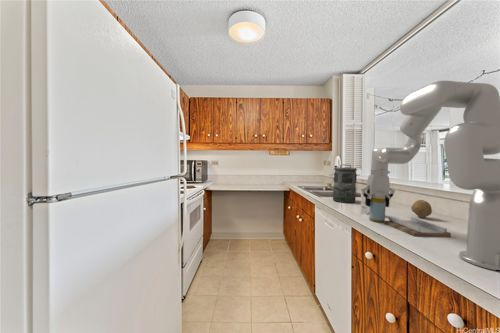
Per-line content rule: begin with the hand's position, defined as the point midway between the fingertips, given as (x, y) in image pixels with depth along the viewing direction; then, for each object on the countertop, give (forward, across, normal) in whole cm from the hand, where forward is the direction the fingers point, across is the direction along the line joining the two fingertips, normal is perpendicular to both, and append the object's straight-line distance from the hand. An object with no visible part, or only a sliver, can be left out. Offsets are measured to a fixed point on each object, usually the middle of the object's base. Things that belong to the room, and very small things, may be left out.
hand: (377, 206), depth 115 cm
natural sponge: (+8, -31, -8) cm, 33 cm away
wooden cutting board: (+6, -9, +14) cm, 18 cm away
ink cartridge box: (+8, -5, -14) cm, 17 cm away
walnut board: (+7, -9, +14) cm, 19 cm away
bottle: (+8, 0, 0) cm, 8 cm away
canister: (+8, -9, -54) cm, 56 cm away
